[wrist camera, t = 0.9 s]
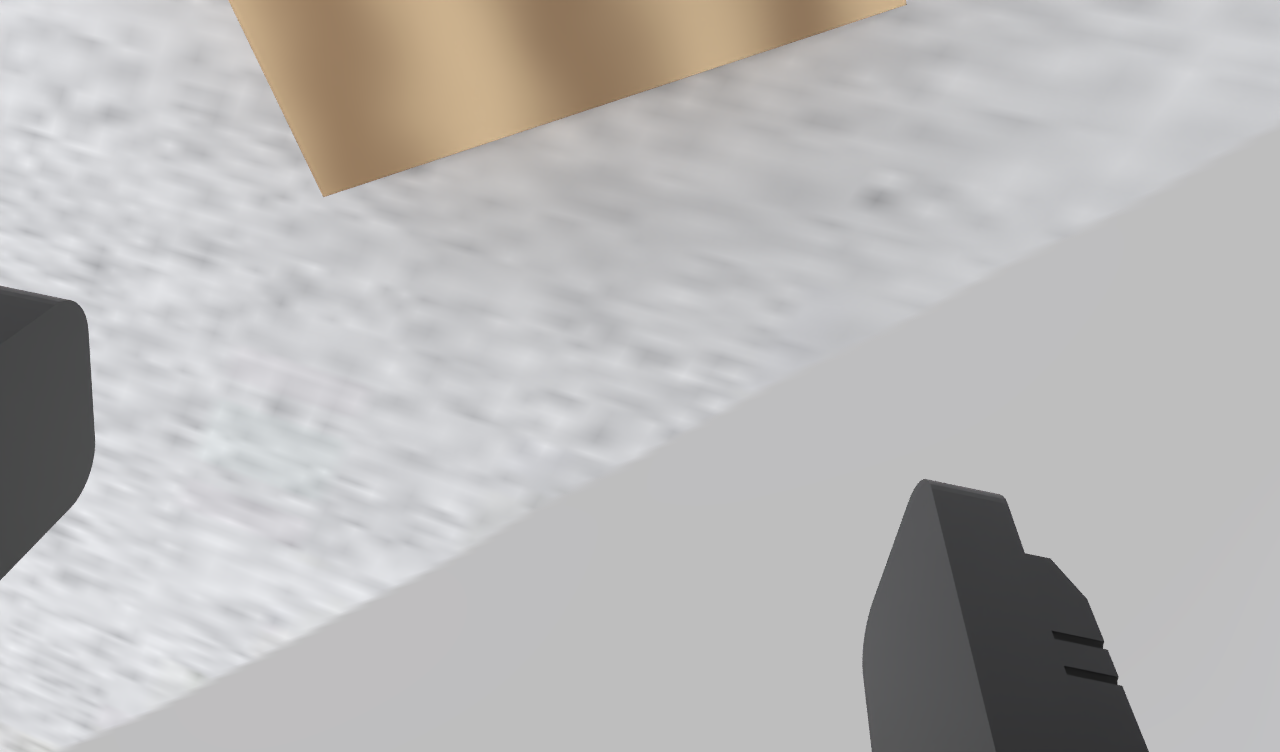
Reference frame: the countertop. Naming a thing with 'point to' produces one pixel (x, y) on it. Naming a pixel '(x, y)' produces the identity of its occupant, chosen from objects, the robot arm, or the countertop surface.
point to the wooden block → (490, 65)
